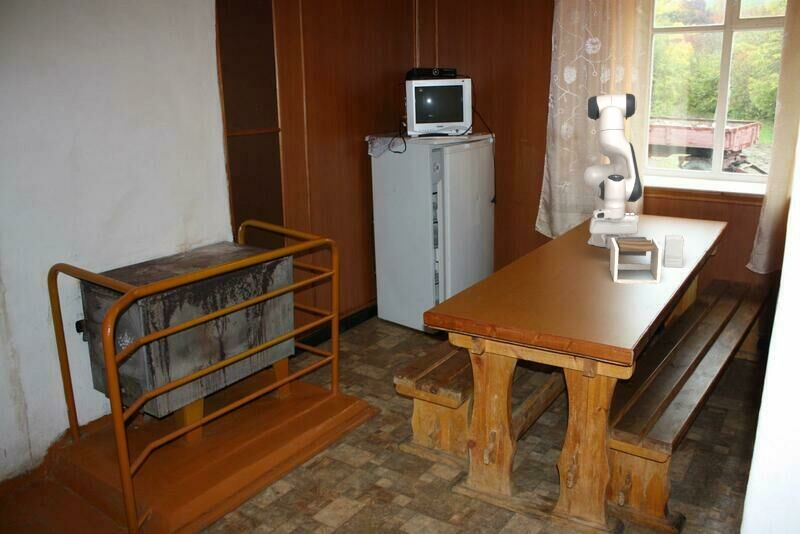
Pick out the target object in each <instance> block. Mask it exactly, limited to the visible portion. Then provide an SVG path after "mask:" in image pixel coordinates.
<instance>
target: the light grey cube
mask: <svg viewBox="0 0 800 534" xmlns="http://www.w3.org/2000/svg"><path fill="white" fill-rule="evenodd" d="M618 237H619V235H607V238H606V239H607V244H606V247H605V248H606V249H609V250H611V238H614V239H615V241H616V240H618ZM616 244H617V246H618V243H616Z"/></svg>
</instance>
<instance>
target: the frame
mask: <svg viewBox="0 0 800 534" xmlns="http://www.w3.org/2000/svg"><path fill="white" fill-rule="evenodd" d="M651 243H652V245H653V247H654V248H655V251H650V263H625V262H624V263H619V255H618V251H619V249H618V246H617V244H616V241H615V239H614V238H611V249H610V253H609V255H610V259H609V271H611V272H610V274H611V277H612V280H613V281H612V282H613V283H617V284H638V285H641V284H642V285H644V284H648V285H657V284H661V283H660V282H661V270H662V269H661V268H662V255H663V248H662V247H661V245H660V243H659V242H658V241H657V239H656V238H655V237H652V238H651ZM621 270H625V271H629V270H631V271H633V270H634V271H635V270H636V271H649V272H651V275H652V276H653V279H618V273H619V272H618V271H621Z"/></svg>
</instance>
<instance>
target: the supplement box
mask: <svg viewBox="0 0 800 534" xmlns="http://www.w3.org/2000/svg"><path fill="white" fill-rule="evenodd" d="M684 241H685V239H684V235H682V234H681V235H680V234H679V235H678V234H665V237H664V252H663V253H664V254H663V267H664V268H683V259H684V258H683V257H684V256H683V255H684V247H685V245H684V244H685V242H684Z"/></svg>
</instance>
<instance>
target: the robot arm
mask: <svg viewBox="0 0 800 534" xmlns="http://www.w3.org/2000/svg"><path fill="white" fill-rule="evenodd" d="M637 101H638V100H637V99H636V95H634V94H632V93H628V92H627V93H610V94H602V95H593V96H590V97H589V98H588V99H587V102H586V103H585V112H586V114H587V117H588V118H589V119H591V120H594V121H597V120H598V121H599V122H598V138H597V139H598V143H597V144H598V145H597V146H598V151H599V153H600V154H601V155H603V156H605V157H607V158H608V160H609V163H603V164H594V165H591V166H588V167H586V169H585V170H584V172H583V182H584V184H585V186H587V187H588V188H590V190H591V191H593V193H594V195H595V199H596V209H595V210H593V211H592V216H591V219H590V221H589V233H590V234H591V235H590V238H589V239H588V241H587V245H589V246H590V245H591V246H595V247H598V248H600V247H601V248H607V247H606V244H607V239H606V238H607V235H619V237H626V235H636V234H637V233H638V232H639V229H638V227H639V225H638V223H639V221H640V215H639V214H638V213H636V212H626V203H625V202H627V203H628V202H629V203H636V202H637V201H638V200H640V199H641V197H642V196H643V186H642V183H641V178H640V175H639V174H640V173H639V168H638V164H637V158H636V157H637V156H636V152H635V149H634V145H633V143H631V142H629V141H628V139H627V137H626V136H627V135H626V133H625V131H626V129H625V121H627V120H628V119H629V118H631V117H632V116H634V115H635V114H636V111H637V107H638V102H637ZM624 118H625V119H624Z"/></svg>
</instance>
